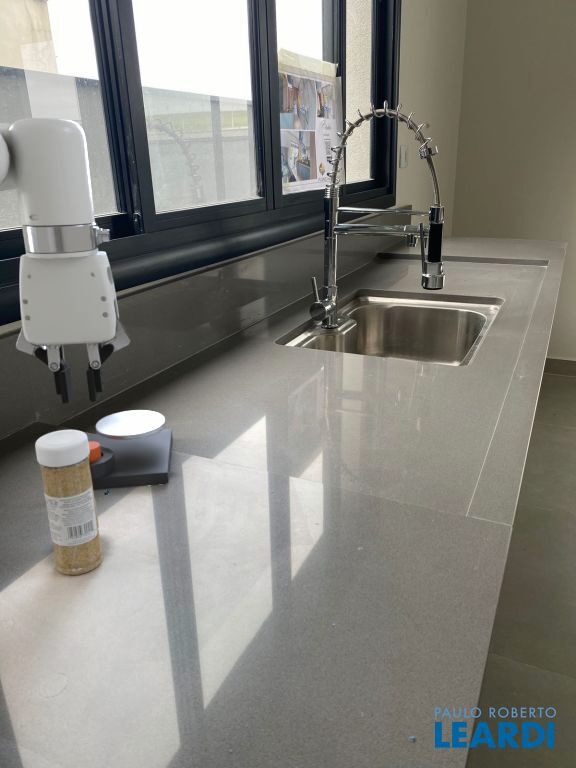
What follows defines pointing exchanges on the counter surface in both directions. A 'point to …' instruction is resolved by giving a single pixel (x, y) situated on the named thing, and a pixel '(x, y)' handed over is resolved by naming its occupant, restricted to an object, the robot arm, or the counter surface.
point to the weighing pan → (130, 424)
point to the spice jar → (70, 500)
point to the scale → (132, 461)
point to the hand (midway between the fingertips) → (81, 397)
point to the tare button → (94, 451)
